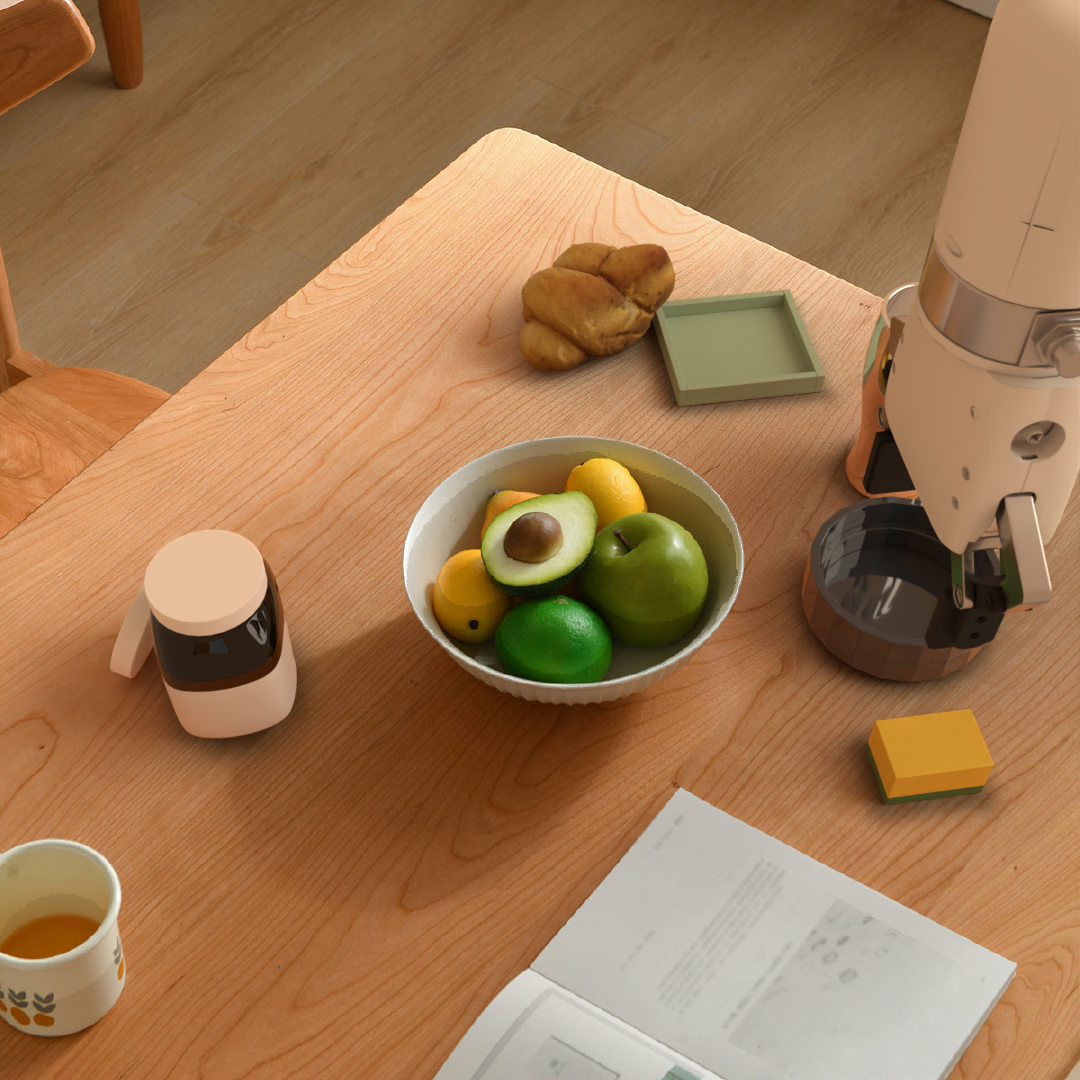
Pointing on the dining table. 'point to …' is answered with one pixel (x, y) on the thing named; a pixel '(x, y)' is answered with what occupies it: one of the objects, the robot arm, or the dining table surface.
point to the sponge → (928, 756)
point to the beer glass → (877, 387)
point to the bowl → (883, 589)
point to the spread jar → (213, 635)
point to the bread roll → (592, 303)
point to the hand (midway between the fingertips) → (923, 560)
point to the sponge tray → (736, 348)
